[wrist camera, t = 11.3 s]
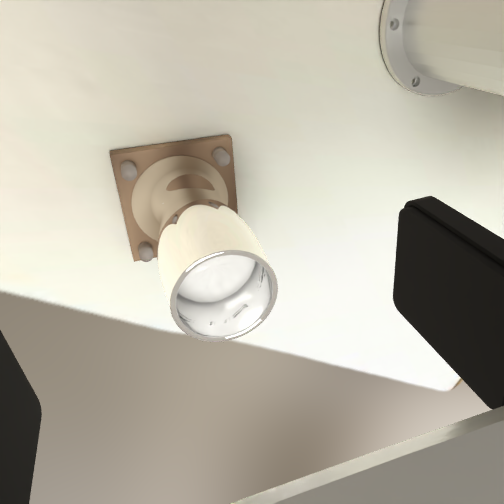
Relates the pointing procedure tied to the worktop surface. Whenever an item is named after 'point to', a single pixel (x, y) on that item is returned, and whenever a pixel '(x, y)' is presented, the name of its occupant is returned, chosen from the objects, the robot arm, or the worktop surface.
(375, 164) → the worktop surface
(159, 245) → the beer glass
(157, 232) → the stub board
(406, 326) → the worktop surface
